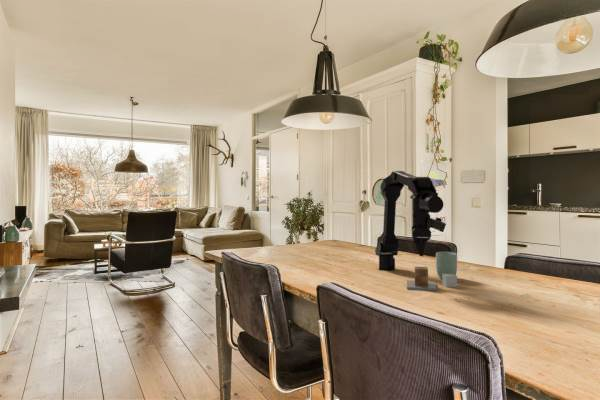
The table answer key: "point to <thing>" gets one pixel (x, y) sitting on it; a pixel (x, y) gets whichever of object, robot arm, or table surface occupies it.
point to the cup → (446, 263)
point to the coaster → (412, 286)
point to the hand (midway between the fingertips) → (421, 253)
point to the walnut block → (421, 276)
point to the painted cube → (449, 280)
